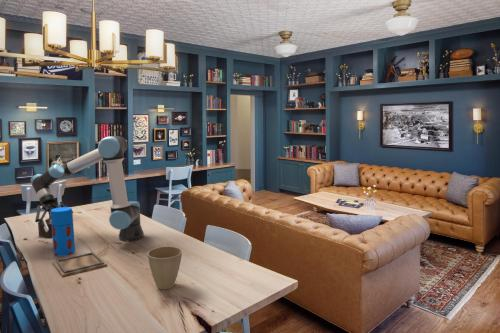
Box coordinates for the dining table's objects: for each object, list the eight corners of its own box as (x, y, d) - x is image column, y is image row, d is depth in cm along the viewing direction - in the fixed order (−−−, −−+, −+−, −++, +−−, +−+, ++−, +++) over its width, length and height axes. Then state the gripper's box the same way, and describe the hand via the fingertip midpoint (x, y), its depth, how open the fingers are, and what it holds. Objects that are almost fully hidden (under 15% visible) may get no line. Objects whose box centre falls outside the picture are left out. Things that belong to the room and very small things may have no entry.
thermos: (61, 257, 202) (58, 212, 199) (49, 254, 207) (46, 210, 204) (79, 251, 211) (76, 208, 208) (67, 248, 217) (64, 206, 213)
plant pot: (151, 296, 158) (150, 260, 156) (146, 282, 171) (145, 249, 169) (186, 289, 164) (185, 255, 162) (178, 276, 177) (177, 244, 175)
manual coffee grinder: (51, 238, 234) (49, 210, 232) (38, 236, 238) (36, 209, 235) (70, 231, 248) (69, 205, 246) (58, 229, 252) (56, 204, 250)
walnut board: (94, 254, 206) (94, 251, 206) (107, 266, 190) (107, 262, 190) (52, 263, 193) (52, 260, 193) (62, 277, 177) (62, 273, 177)
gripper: (66, 198, 227) (79, 226, 219) (21, 205, 207) (34, 237, 200) (69, 190, 223) (83, 219, 216) (24, 197, 203) (38, 229, 196)
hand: (60, 227), depth 208 cm, fingers open, 13 cm apart
